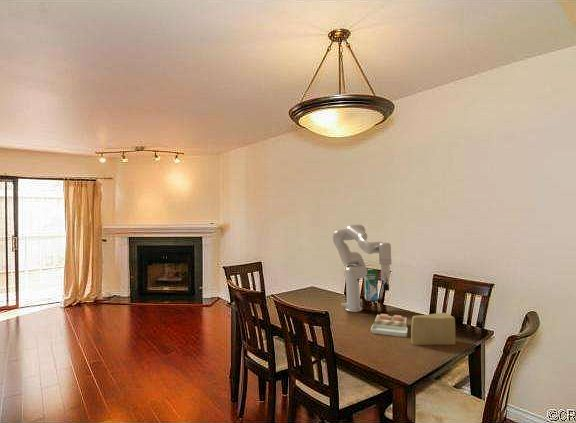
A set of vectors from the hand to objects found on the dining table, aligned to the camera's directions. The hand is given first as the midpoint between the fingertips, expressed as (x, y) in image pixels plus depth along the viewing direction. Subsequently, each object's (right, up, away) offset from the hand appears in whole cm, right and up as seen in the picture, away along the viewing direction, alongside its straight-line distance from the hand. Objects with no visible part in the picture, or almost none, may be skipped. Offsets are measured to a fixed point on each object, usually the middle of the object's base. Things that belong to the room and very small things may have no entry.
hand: (386, 290), depth 213 cm
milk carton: (+4, -21, +54) cm, 58 cm away
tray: (-4, -20, -19) cm, 28 cm away
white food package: (0, -20, -9) cm, 22 cm away
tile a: (-4, -16, -7) cm, 18 cm away
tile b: (+4, -16, -11) cm, 19 cm away
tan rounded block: (+13, -20, -36) cm, 44 cm away
